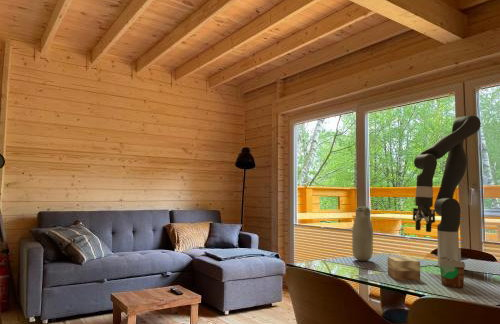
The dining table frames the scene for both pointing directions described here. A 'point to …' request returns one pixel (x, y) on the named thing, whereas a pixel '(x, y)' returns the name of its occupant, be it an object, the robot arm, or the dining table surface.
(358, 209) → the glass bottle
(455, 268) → the food container
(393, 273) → the walnut slab
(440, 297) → the dining table surface
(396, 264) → the birch slab
